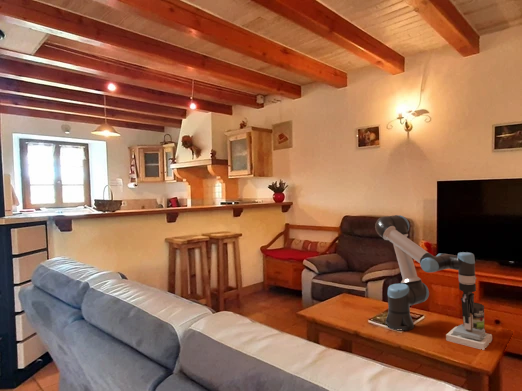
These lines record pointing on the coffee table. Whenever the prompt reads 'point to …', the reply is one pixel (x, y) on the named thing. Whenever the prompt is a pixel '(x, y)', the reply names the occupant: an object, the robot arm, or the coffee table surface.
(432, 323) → the coffee table surface
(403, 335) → the coffee table surface
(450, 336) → the frame
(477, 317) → the coffee can
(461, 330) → the grey panel with handle
